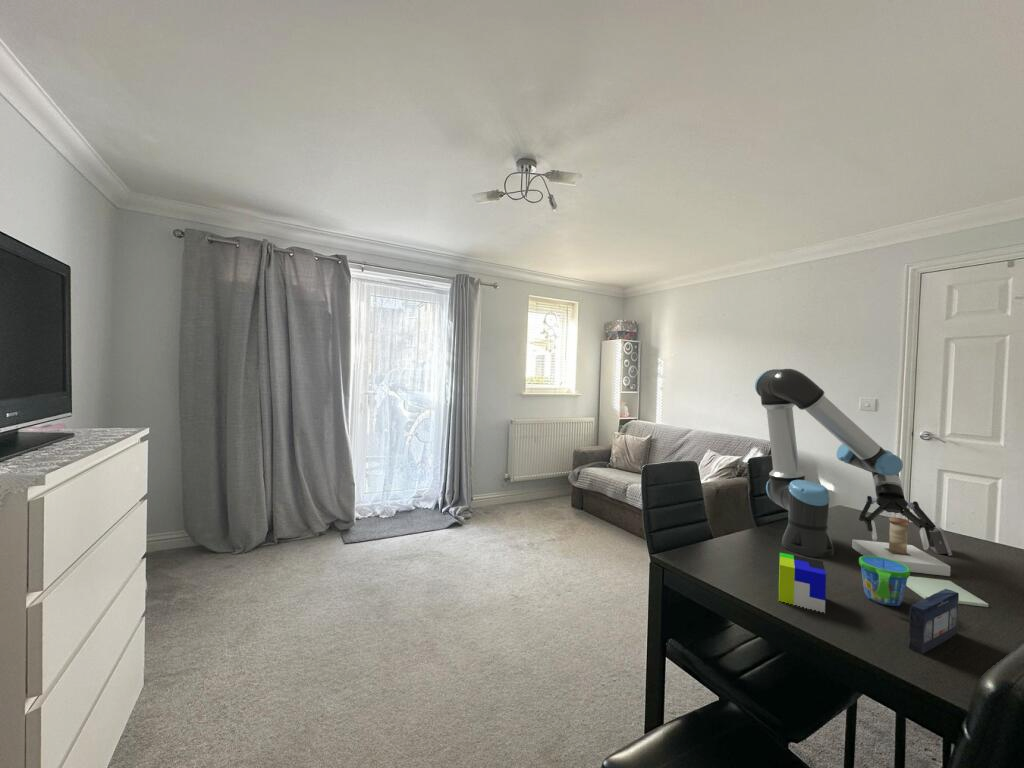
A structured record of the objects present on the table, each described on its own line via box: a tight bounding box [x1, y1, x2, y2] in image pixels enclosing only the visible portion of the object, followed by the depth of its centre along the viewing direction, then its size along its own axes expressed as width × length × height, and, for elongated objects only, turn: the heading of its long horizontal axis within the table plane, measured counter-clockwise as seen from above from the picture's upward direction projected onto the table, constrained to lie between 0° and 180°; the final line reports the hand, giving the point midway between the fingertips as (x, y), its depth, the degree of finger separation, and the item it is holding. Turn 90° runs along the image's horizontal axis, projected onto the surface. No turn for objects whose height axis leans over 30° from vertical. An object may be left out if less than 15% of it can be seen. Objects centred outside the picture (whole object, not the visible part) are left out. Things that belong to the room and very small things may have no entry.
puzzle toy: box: [778, 552, 827, 614], centre depth 116 cm, size 10×10×10 cm
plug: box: [888, 516, 909, 555], centre depth 143 cm, size 5×5×14 cm
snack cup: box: [858, 555, 911, 607], centre depth 116 cm, size 16×10×10 cm
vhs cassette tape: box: [907, 589, 959, 655], centre depth 98 cm, size 18×3×10 cm, turn 115°
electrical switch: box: [928, 522, 953, 557], centre depth 153 cm, size 9×5×9 cm, turn 152°
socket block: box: [851, 539, 951, 577], centre depth 143 cm, size 18×18×3 cm
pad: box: [906, 575, 989, 608], centre depth 122 cm, size 14×14×1 cm
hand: (900, 543), depth 141 cm, fingers open, 12 cm apart
